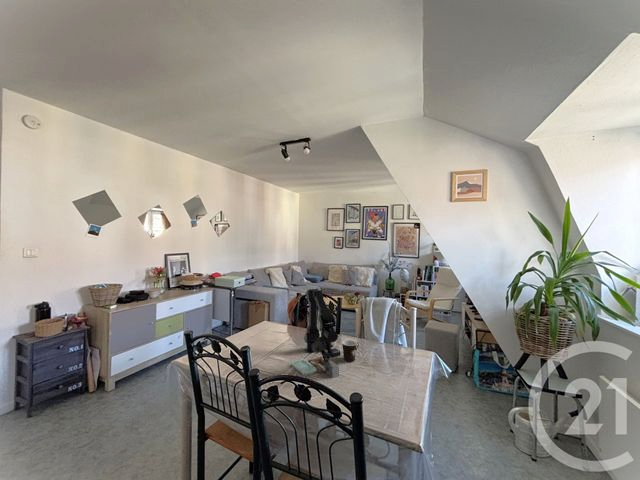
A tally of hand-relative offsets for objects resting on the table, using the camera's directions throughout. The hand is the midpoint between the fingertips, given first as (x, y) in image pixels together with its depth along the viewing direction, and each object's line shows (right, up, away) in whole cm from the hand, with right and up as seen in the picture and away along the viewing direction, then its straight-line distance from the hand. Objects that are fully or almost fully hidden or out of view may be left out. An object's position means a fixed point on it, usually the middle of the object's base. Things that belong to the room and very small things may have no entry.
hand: (325, 363), depth 152 cm
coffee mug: (+16, -3, +13) cm, 20 cm away
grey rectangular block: (+3, -3, -4) cm, 6 cm away
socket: (-3, -3, +4) cm, 6 cm away
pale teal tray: (-12, -3, +1) cm, 13 cm away
